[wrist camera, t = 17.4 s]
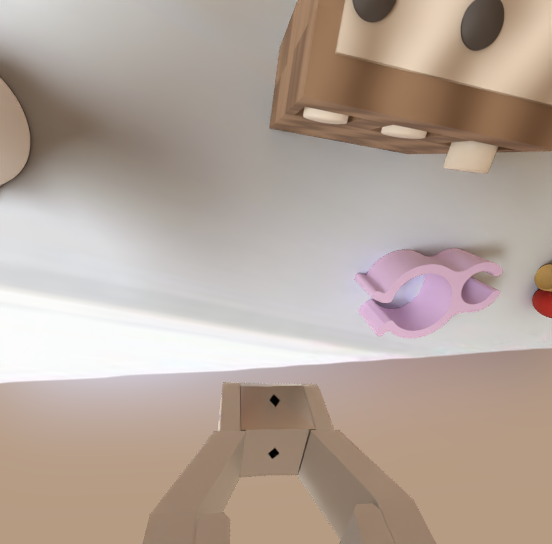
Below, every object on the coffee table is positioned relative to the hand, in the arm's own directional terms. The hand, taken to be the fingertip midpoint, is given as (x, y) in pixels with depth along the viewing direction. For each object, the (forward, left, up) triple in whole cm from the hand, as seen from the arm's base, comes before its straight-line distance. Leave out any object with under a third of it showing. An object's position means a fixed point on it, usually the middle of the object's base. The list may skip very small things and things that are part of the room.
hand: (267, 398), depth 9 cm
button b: (+19, +11, -20) cm, 30 cm away
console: (+12, +15, -33) cm, 38 cm away
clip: (+30, -8, -34) cm, 45 cm away
